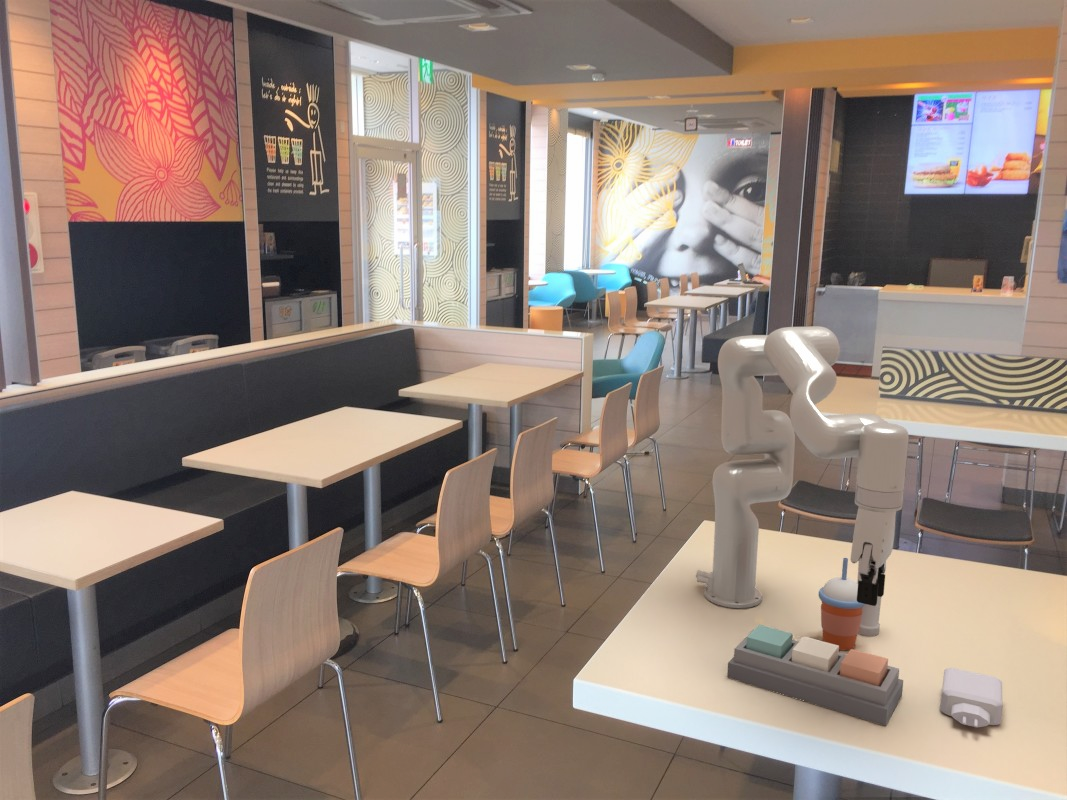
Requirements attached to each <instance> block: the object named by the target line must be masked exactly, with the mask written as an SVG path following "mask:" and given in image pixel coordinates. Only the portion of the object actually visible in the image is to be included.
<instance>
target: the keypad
mask: <svg viewBox="0 0 1067 800" xmlns="http://www.w3.org/2000/svg"><path fill="white" fill-rule="evenodd" d="M798 643H799V641H798V640H796V639H795V640H794V639H792V648H791V649H790V650H789V651H788V652H787V654H786V655H785V656H784V657H783V658H782V659H781V658H777V657H774V656H770V655H767V654H763V653H759V652H756V651H752V650H749V649H746V645H747V636H745V637H744V638H743V640H741V641H740V643H739V644H737V645H736V646H735V648H734V649H733V650H734V651H733V652H734V653H733V656H732V658H731V659H730V660H729V661H728V662H727V672H726V674H727V676H726V678H727V677H728V678H727V679H731V680H733V679H734V681H737V682H741V683H743V682H744V683H743V684H747V685H751V686H753V687H755V688H760V689H764V690H766V689H767V690H766V691H769V690H770V691H769V692H773V691H774V693H776V692H778V693H777V694H779V693H781V694H780V695H782V694H784V695H783V696H786V695H787V697H789V696H790V697H789V698H792V697H794V698H793V699H795V698H797V699H796V700H799V699H801V700H800V701H802V700H804V701H803V702H805V701H807V702H806V703H808V702H809V703H808V704H811V705H815V704H816V705H815V706H818V705H819V707H821V706H823V707H822V708H825V707H826V708H825V709H828V708H829V709H828V710H831V709H833V710H832V711H835V710H836V712H838V711H839V712H838V713H841V712H842V713H841V714H844V713H845V715H848V716H850V717H854V718H857V717H858V718H857V719H862V720H864V721H867V720H868V722H870V721H871V723H875V724H877V725H881V726H884V727H886V726H887V724H888V723H889V720H890V718H891V717H892V715H893V713H894V711H895V710H896V708H897V706H898V705H899V702H900V700H901V699H902V696H903V691H904V689H903V688H904V679H900V678H899V677H900V676H899V675H900V668H899V667H894V666H891V665H888V668H887V675H886V677H885V679H884V680H883V682H882V684H881V685H880V687H879V686H876V685H872V684H869V683H865V682H862V681H858V680H855V679H851V678H848V677H844V676H841V675H840V668H841V662H842V661H843V659H844V658H845V656H846V655H847V654H848V653H847V654H846V653H842V652H839V653H838V662H837V663H836V664H835V666H834V667H833V668H832V670H831V671H830V672H826V671H823V670H819V669H816V668H812V667H809V666H805V665H802V664H798V663H795V662H792V650H793V648H794V647H795V646H796V645H797V644H798Z"/></svg>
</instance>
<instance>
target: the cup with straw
mask: <svg viewBox="0 0 1067 800" xmlns="http://www.w3.org/2000/svg"><path fill="white" fill-rule="evenodd" d="M848 562H849V558H847V557H843V558H842V570H841V571H842V572H841V576H838V577H834V578H831V579H829V580H828V581H826V583H824V585H823V586H822V587H821V588H820V589H819V590H818V598H819V599H820V601H821V604H820V620H821V621H820V622H821V624H820V625H821V629H822V641H823V642H827V643H831V644H835V645H838V646H839V651H850V650H851V649H853V650H854V648H855V647H856V645H857V644H856V642H857V639H858V635H859V634H858V633H859V628H860V623H861V618H862V613H863V611H862V607H863V606H865V605H866V604H863V603H859V602H857V590H858V584H857V581H855V580H853V579H851V578H849V577H848V575H847V574H848V565H849V564H848Z"/></svg>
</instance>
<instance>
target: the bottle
mask: <svg viewBox="0 0 1067 800" xmlns="http://www.w3.org/2000/svg"><path fill="white" fill-rule="evenodd" d="M860 563H861V558H860V559H859V561H858V564H857V565H858V567H857V581H856V583H857V584H858V580H859V569H860ZM881 574H883V573H881ZM881 603H882V597H879V596H878V597H877V604H876V606H872V605H868V604H866V605H865V606H863V607H862V611H863V613H862V618H861V623H860V628H859V633H858V634H857V635H861V636H865V637H866V636H867V637H874V636H877V635H879V631H880V628H881V627H880V626H881V624H880V622H879V621H880V612H881V605H882V604H881Z"/></svg>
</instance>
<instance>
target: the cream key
mask: <svg viewBox="0 0 1067 800" xmlns="http://www.w3.org/2000/svg"><path fill="white" fill-rule="evenodd" d="M798 642H799V643H798V644H797V645H796V646H795V647H794V648H793V650H792V662H795V663H798V664H802V665H805V666H809V667H812V668H816V669H819V670H823V671H826V672H830V671H831V670H832V668H833V667H834V666H835V664H836V663H837V662H838V653H840V650H839V646H838V645H835V644H831V643H827V642H823V640H819V639H815V638H812V637H807V636H802V638H801V639H799V641H798Z"/></svg>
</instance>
